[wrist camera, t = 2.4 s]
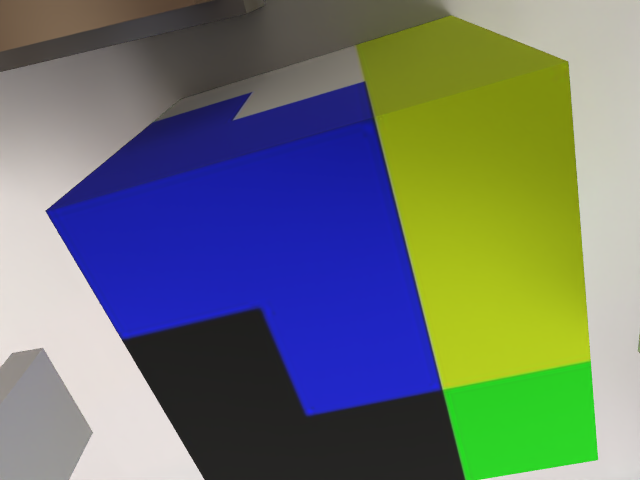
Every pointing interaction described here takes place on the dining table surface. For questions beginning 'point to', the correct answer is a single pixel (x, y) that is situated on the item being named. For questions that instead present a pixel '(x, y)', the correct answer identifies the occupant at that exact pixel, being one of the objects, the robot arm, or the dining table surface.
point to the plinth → (132, 33)
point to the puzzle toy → (356, 264)
